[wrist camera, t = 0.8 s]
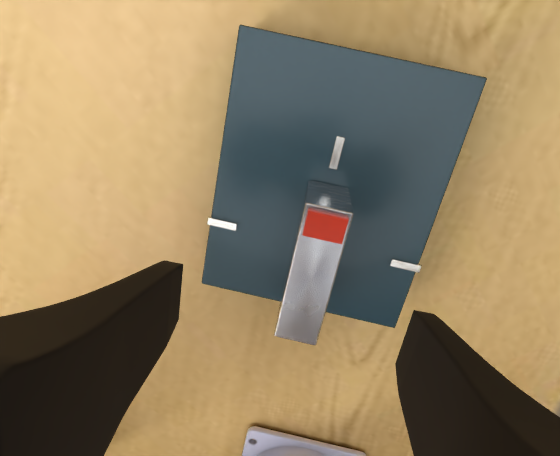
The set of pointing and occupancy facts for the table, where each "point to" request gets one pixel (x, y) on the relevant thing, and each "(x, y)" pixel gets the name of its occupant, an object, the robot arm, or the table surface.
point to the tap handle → (314, 261)
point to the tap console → (333, 165)
